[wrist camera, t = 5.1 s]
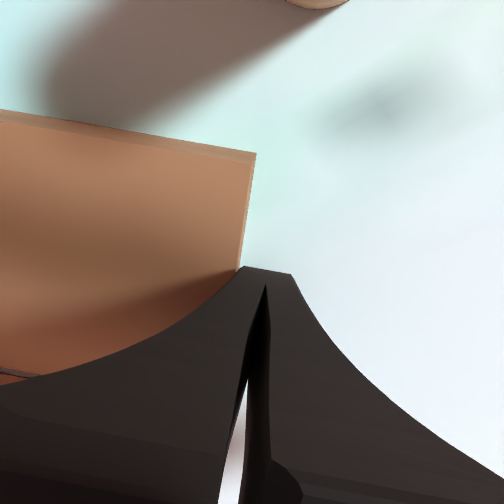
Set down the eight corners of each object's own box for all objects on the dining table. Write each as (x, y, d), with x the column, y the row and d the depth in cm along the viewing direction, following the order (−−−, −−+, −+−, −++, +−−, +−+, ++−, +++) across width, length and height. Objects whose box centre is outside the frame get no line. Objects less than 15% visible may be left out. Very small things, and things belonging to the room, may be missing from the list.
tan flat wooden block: (224, 369, 13) (215, 407, 12) (-50, 319, 13) (-92, 349, 12) (258, 149, 10) (252, 163, 9) (-95, 89, 10) (-158, 93, 9)
